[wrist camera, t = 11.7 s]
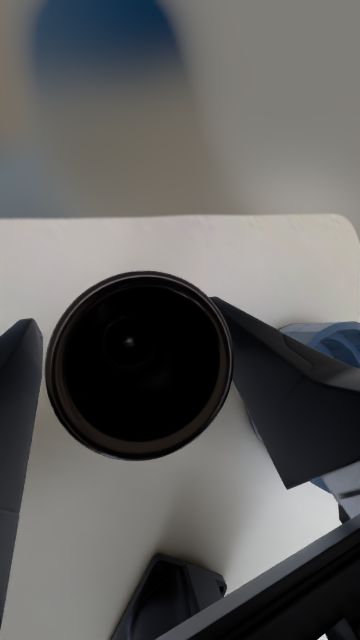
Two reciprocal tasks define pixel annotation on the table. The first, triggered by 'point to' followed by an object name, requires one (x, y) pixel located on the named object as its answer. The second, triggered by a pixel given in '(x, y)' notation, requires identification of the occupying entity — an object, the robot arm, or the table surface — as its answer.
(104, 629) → the table surface
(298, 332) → the basin
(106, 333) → the grey hollow cylinder
